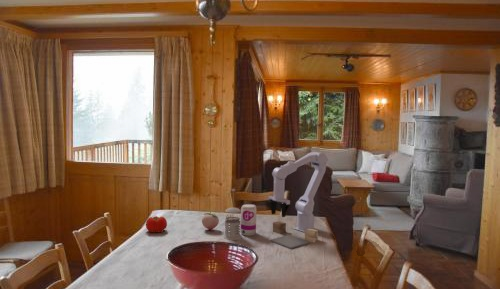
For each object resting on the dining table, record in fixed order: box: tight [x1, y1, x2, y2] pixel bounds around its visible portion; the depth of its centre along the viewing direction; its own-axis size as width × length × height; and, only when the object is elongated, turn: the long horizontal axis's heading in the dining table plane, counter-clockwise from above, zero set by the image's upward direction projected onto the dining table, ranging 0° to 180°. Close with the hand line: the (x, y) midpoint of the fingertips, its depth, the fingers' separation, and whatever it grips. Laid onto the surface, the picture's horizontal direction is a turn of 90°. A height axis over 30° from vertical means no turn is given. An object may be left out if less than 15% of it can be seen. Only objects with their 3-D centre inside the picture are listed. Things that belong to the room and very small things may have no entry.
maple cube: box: [304, 229, 319, 243], centre depth 189 cm, size 5×5×5 cm
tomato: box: [145, 215, 168, 233], centre depth 198 cm, size 11×11×8 cm
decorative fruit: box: [201, 211, 220, 231], centre depth 202 cm, size 9×8×10 cm
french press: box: [222, 188, 243, 241], centre depth 190 cm, size 10×12×25 cm
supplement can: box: [240, 203, 258, 237], centre depth 197 cm, size 8×8×15 cm
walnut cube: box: [272, 220, 287, 234], centre depth 203 cm, size 5×5×5 cm
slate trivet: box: [269, 234, 311, 250], centre depth 185 cm, size 14×14×1 cm
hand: (278, 215), depth 201 cm, fingers open, 7 cm apart
